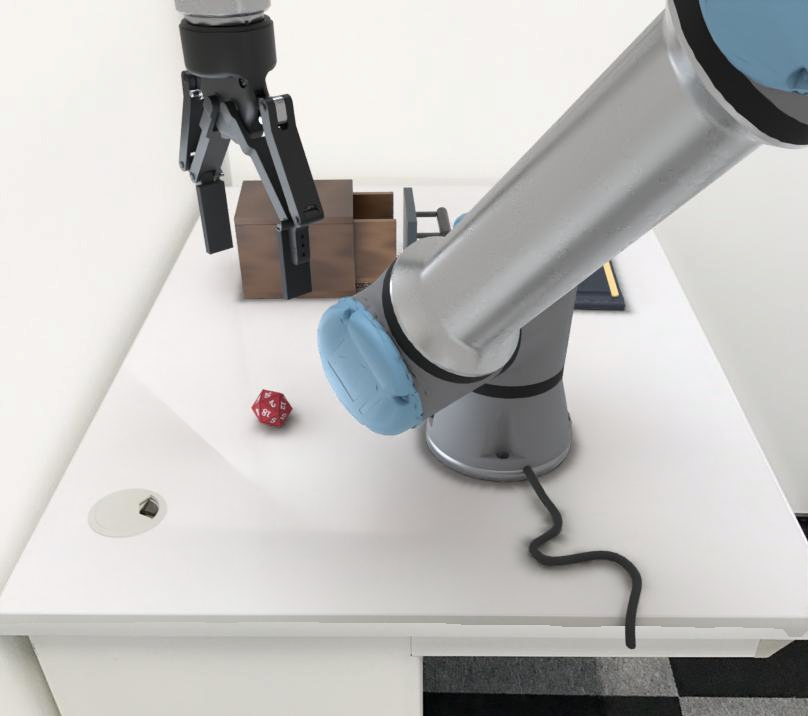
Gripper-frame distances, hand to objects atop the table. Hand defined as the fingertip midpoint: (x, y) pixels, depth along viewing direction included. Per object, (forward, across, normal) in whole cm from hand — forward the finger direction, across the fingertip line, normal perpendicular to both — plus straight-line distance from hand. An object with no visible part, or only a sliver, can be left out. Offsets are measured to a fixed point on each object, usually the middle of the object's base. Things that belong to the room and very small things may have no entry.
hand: (257, 271), depth 82 cm
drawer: (+15, +19, -31) cm, 39 cm away
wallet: (+16, +3, -50) cm, 53 cm away
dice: (+17, -1, +1) cm, 17 cm away
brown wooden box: (+16, +26, -22) cm, 38 cm away
